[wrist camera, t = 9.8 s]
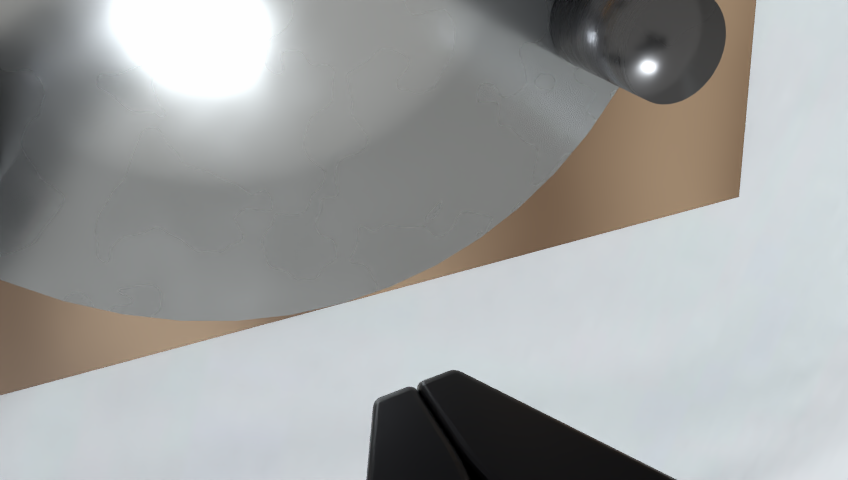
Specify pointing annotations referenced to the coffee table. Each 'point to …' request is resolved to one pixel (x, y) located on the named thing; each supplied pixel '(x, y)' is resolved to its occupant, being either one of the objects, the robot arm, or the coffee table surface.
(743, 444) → the coffee table surface
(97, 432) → the coffee table surface
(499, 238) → the stand board
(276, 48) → the capstan dial
